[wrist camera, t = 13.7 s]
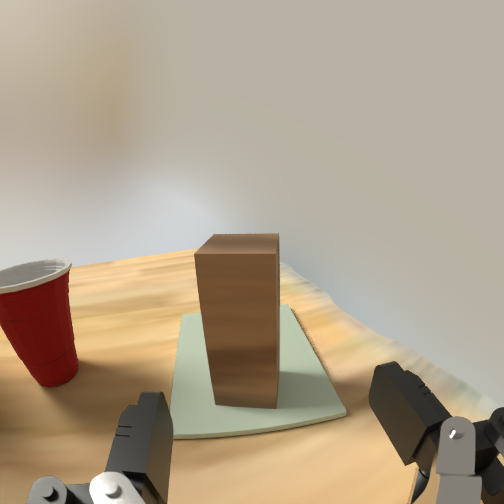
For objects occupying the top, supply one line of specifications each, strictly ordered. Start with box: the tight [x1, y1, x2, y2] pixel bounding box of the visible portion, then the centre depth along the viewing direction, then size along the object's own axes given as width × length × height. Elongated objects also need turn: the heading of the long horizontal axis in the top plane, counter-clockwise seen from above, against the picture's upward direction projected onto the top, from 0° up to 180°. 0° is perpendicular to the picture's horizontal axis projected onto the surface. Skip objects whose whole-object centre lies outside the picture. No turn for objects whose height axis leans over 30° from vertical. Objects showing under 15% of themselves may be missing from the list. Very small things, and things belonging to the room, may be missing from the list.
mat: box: [170, 304, 347, 439], centre depth 29 cm, size 20×14×1 cm
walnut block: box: [194, 234, 280, 409], centre depth 22 cm, size 5×5×13 cm
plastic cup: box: [0, 259, 78, 387], centre depth 24 cm, size 11×11×12 cm
